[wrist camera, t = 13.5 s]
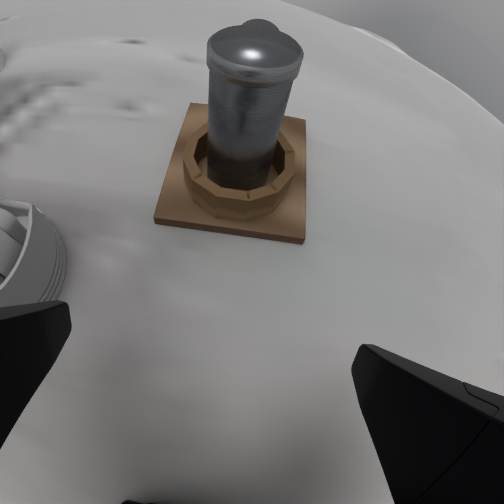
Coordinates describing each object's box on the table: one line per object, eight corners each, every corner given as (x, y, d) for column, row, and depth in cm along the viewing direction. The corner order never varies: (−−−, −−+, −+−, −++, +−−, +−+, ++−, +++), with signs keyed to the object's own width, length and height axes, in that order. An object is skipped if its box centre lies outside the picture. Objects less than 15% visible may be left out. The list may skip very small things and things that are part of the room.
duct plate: (301, 244, 26) (316, 220, 22) (155, 223, 25) (147, 195, 22) (303, 126, 32) (312, 98, 28) (190, 109, 31) (190, 80, 27)
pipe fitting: (265, 208, 26) (305, 75, 14) (199, 199, 25) (197, 60, 14) (271, 140, 29) (302, 19, 17) (214, 132, 29) (223, 7, 17)
